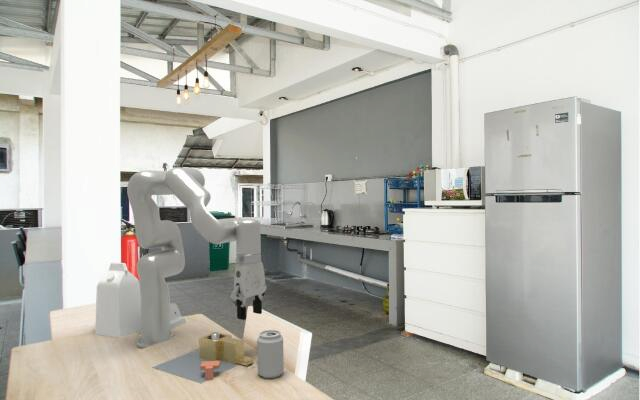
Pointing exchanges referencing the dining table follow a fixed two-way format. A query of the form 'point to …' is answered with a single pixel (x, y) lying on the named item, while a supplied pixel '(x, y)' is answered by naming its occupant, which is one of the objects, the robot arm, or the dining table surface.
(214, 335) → the cylinder
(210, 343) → the link
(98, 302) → the milk
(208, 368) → the pink t-shaped block
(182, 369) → the base plate
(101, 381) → the dining table surface
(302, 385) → the dining table surface
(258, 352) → the can
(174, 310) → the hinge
